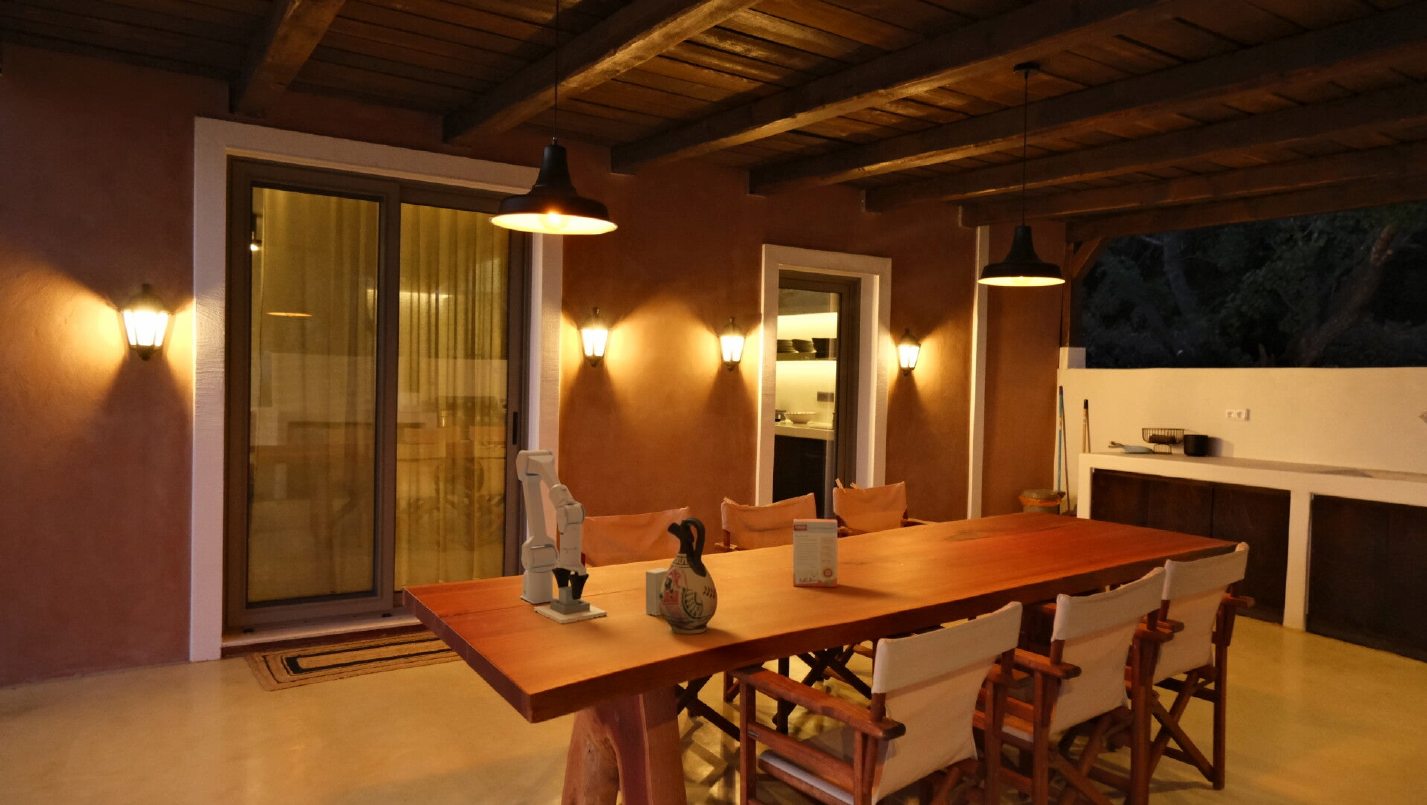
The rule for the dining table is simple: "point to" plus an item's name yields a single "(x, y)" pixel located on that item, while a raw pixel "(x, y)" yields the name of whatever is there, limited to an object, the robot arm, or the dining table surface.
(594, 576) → the dining table surface
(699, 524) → the ceramic jug
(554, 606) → the socket holder
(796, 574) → the cracker box
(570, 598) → the peg
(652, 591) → the skincare box
